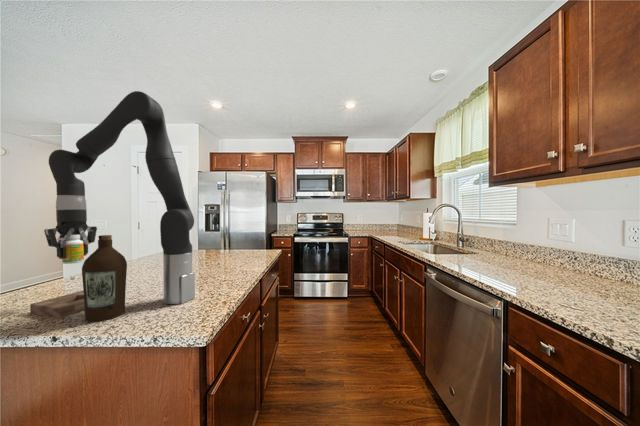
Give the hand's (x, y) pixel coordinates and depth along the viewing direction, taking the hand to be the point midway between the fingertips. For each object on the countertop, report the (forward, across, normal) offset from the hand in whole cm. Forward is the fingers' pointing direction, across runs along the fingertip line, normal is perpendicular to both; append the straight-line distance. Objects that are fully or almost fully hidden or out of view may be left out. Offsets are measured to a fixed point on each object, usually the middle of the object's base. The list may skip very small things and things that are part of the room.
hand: (73, 256), depth 87 cm
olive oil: (+17, -4, -21) cm, 28 cm away
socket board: (+17, -2, -3) cm, 17 cm away
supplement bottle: (+2, 0, 0) cm, 2 cm away
